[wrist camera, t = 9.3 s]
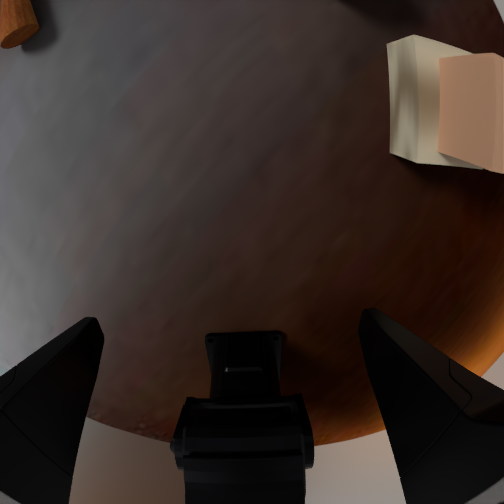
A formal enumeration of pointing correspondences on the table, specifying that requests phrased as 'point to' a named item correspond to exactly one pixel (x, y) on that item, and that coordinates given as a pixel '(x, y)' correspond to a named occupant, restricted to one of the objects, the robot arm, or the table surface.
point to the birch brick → (418, 99)
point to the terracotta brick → (472, 109)
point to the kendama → (16, 22)
